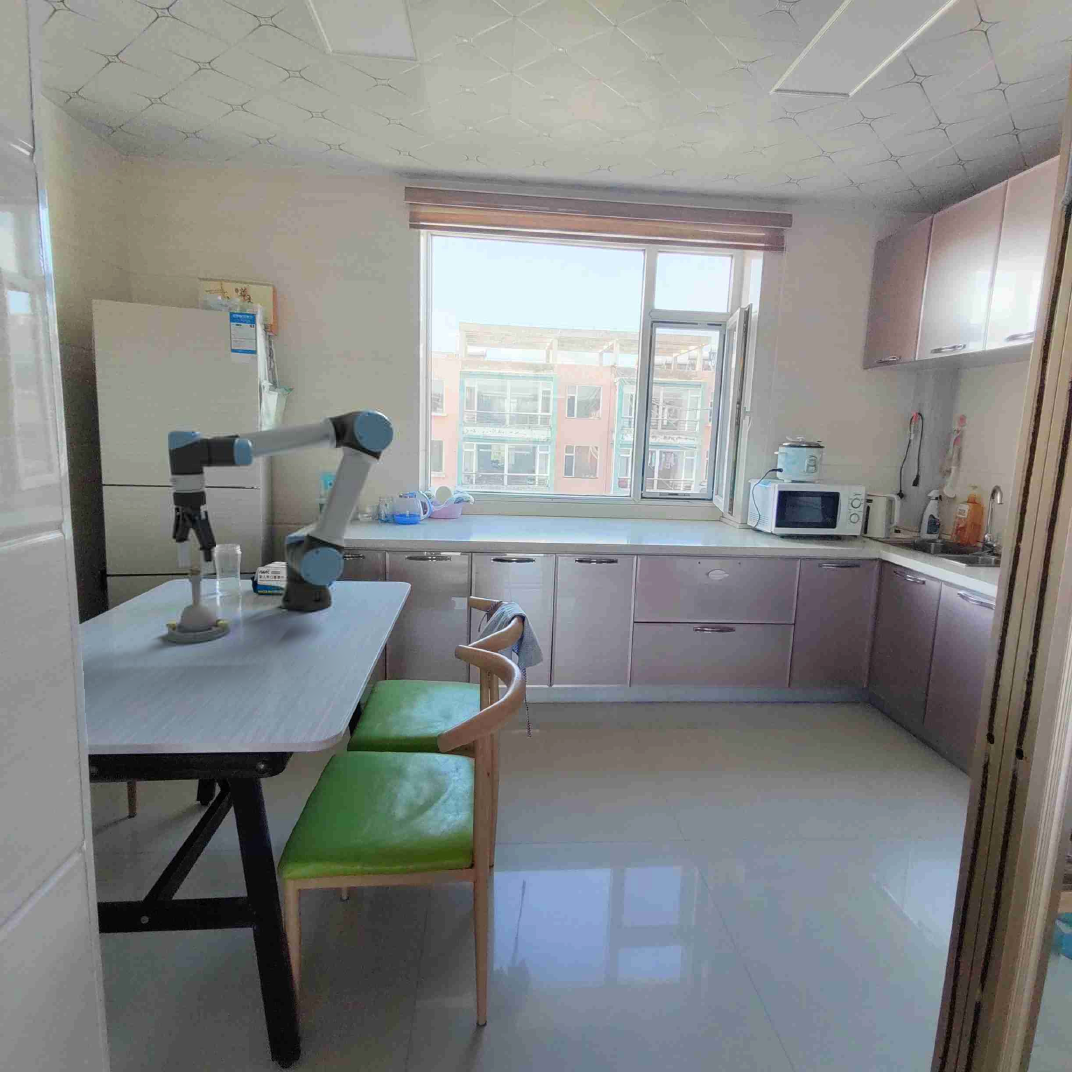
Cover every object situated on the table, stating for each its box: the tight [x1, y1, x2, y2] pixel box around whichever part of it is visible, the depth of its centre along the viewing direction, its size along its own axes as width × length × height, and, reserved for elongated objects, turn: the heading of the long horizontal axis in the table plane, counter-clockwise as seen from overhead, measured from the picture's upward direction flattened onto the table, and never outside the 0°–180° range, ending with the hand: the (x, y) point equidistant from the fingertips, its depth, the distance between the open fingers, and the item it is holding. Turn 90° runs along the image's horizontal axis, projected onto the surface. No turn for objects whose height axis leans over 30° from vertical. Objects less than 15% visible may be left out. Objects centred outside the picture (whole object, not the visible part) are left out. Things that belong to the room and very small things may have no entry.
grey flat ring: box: [165, 617, 230, 644], centre depth 167 cm, size 15×15×3 cm
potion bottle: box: [179, 565, 218, 633], centre depth 165 cm, size 9×9×18 cm
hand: (196, 569), depth 164 cm, fingers open, 13 cm apart
